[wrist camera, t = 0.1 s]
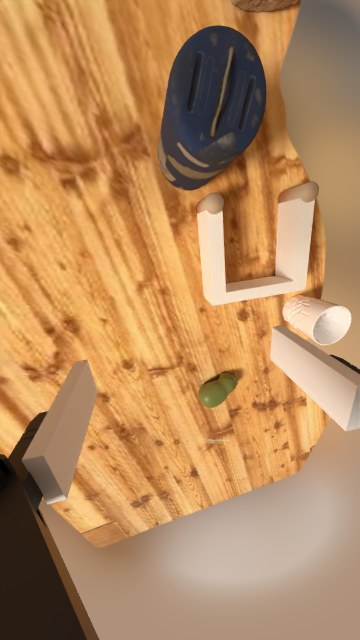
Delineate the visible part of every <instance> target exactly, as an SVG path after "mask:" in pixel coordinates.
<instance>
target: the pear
mask: <svg viewBox="0 0 360 640" xmlns="http://www.w3.org/2000/svg"><path fill="white" fill-rule="evenodd" d="M237 381H238V380H237V379H236V378H235V377H234V375H233V374H230V373H228V372H224V373H222V374H221V375H220V376H219V379H217V380H216V381H212V382H209V383H206V384H204V385H203V386H202V387H201V388H200V390H199V394H198V395H199V399H200V401H201V403H202V404H203V405H204V406H206V407H208V408H213V407H216V406H218V405H220V404H221V403H222V402H223V401H224V400H225V399H226V397H227V396H228V394H229V393H231V392H232V391H233V390H234V389H235V388H236V385H237V384H238V383H237Z"/></svg>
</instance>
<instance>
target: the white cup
mask: <svg viewBox="0 0 360 640" xmlns="http://www.w3.org/2000/svg"><path fill="white" fill-rule="evenodd" d="M282 314H283V317H284V320H286V321H287V322H288V323H290V324H291V325H292V326H293V327H295V328H296V329H297V330H299V331H300V332H302V333H303V334H305V335H306V336H308V337H309V338H311V339H312V340H313V341H315V342H316V343H318V344H320V345H330V344H333V343H335V342H337V341H338V340H340V339H341V338H342V337H343V336H344V335H345V334H346V333H347V331H348V329H349V327H350V325H351V313H350V311H349V310H348V309H347V308H346V307H344V306H340V305H337V304H333V303H330V302H326V301H323V300H320V299H315V298H312V297H307V296H302V295H297V296H294V297H292V298H291V299H289V300H288V301H287V302H286V304H285V306H284V307H283V313H282Z"/></svg>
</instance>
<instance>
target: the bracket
mask: <svg viewBox="0 0 360 640" xmlns="http://www.w3.org/2000/svg"><path fill="white" fill-rule="evenodd" d="M318 191H319V188H318V185H317V184H316V183H315V182H308V183H305V184H302V185H299V186H296V187H293V188H290V189H287V190H284V191H282V192H281V193H280V195H279V197H278V203H279V205H278V226H277V246H276V267H275V276H270V277H264V278H258V279H252V280H246V281H240V282H234V283H228V284H226V283H225V259H224V236H223V212H222V209H223V207H224V200H223V197H222V196H221V195H220V194H218V193H212V194H210V195H209V196H207V197H206V198H204V199H203V200H201V201H200V202H198V204H197V206H196V213H197V219H198V231H199V242H200V254H201V266H202V278H203V290H204V297H205V298H206V299H207V300H208V301H209V302H210V303H211V304H212V305H213V306H214V305H220V304H226V303H231V302H237V301H243V300H249V299H254V298H260V297H266V296H272V295H277V294H283V293H289V292H294V291H300V290H305V289H306V279H307V270H308V261H309V251H310V242H311V232H312V223H313V213H314V204H315V198H316V197H317V195H318Z"/></svg>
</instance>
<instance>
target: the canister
mask: <svg viewBox="0 0 360 640" xmlns="http://www.w3.org/2000/svg"><path fill="white" fill-rule="evenodd" d="M265 105H266V80H265V74H264V70H263V66H262V63H261V60H260V58H259V56H258V54H257V52H256V50H255V48H254V46H253V45H252V44H251V43H250V42H249V40H248V39H247V38H246V37H245V36H244V35H242V34H241V33H240V32H238V31H236V30H235V29H233V28H230V27H226V26H210V27H206V28H204V29H202V30H200V31H198V32H197V33H195V34H194V35H192V36H191V37H190V38H189V39H188V40H187V41H186V42H185V43H184V45H183V46H182V48H181V49H180V51H179V52H178V54H177V56H176V58H175V60H174V63H173V66H172V69H171V72H170V76H169V81H168V88H167V94H166V100H165V107H164V113H163V119H162V125H161V131H160V139H159V145H158V159H159V164H160V167H161V170H162V172H163V174H164V176H165V177H166V179H167V180H168V181H169V182H170V183H171V184H172V185H174V186H175V187H177V188H179V189H182V190H195V189H198V188H200V187H202V186H203V185H204V184H206V183H207V182H208V181H210V180H211V179H213V178H214V177H215V176H216V175H217V174H219V173H220V172H221V171H222V170H225V168H226V166H227V165H228V164H229V163H230V162H232V161H233V160H234V159H235V158H236V157H237V156H239V155H240V154H241V153H242V152H243V151H244V150H245V149H246V148H247V147H248V146H249V144H250V143H251V142H252V140H253V139H254V137H255V135H256V134H257V132H258V130H259V127H260V125H261V122H262V119H263V115H264V111H265Z"/></svg>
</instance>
